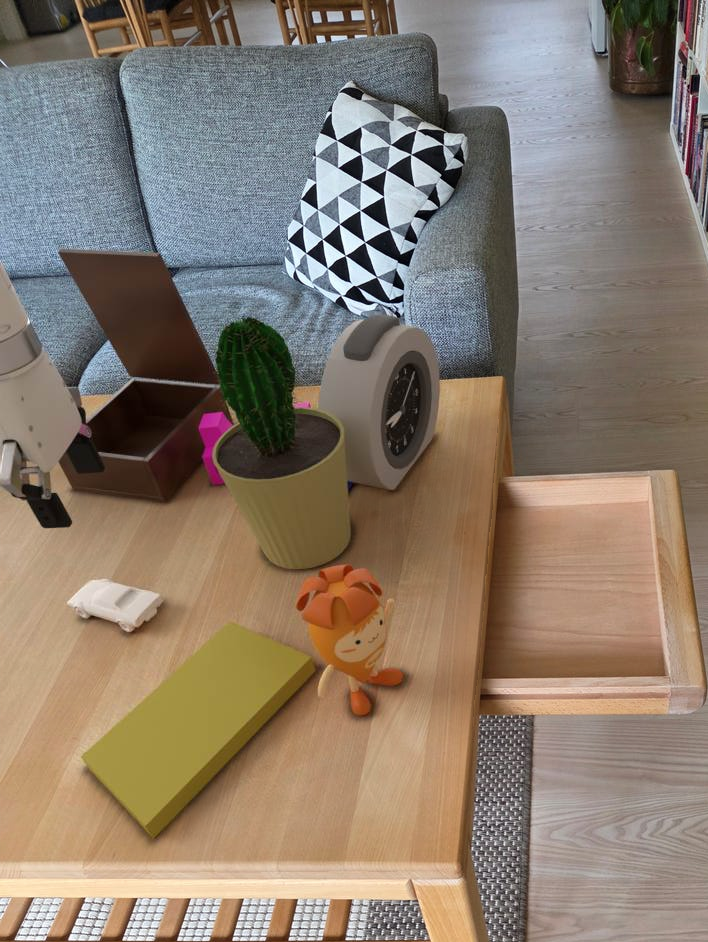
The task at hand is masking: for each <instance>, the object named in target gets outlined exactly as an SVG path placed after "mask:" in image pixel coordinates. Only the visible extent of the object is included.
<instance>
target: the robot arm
mask: <svg viewBox="0 0 708 942" xmlns="http://www.w3.org/2000/svg"><path fill="white" fill-rule="evenodd" d="M86 419H87V412H86V409H85V408H84V407H83V402H82V396H81V392H80V389H79V387H78V386H69V387H68V386H67V385H66V382H65V380H64V379H63V377H62V375H61V373H60V372H59V371H58V368H57V367H56V365H55V364H54V362H53V360H52V359H51V357H50V356H49V354H48V352H46V349H44V347H43V345H42V343H41V340H40V338H39V337H38V334H37V332H36V330H35V328H34V326H33V324H32V322H31V320H30V318H29V316H28V314H27V312H26V309H25V308H24V305H23V304H22V301H21V299H20V298H19V295H18V293H17V291H16V289H15V286H14V285H13V283H12V281H11V279H10V276H9V275H8V273H7V271H6V269H5V266H4V265H3V262H2V261H1V259H0V487H1V488H2V489H4V490H5V491H7V492H8V493H10V495H11V496H12V497H13V498H15V499H20V500H21V501H23V502H25V501H26V503H27V504H28V506H29V507H30V509H31V511H32V513H33V514H34V516H35V518H36V520H37V522H38V523H39V525H40V526H41V527H42V528H43V529H47V530H48V529H64V528H70V527H71V526H72V524H73V520H72V518H71V516H70V514H69V513H68V511H67V508H66V507H65V505H64V503H63V501H62V499H61V497H60V496H59V494H58V493H57V492H52V483H51V473H50V472H51V471H52V470H53V469H54V468H55V467H56V466H57V464H59V462H58V461H59V460H60V459H61V457H62V456H63V454H64V453H65V451H66V452H67V454H68V456H69V458H70V460H71V462H72V464H73V466H74V468H75V470H76V472H77V473H79V474H84V473H100V472H103V471H104V469H105V466H104V464H103V462H102V459H101V457H100V455H99V453H98V451H97V449H96V447H95V445H94V443H93V441H92V439H88V438H90V437H91V430H90V428H89V427H88V426H86ZM29 462H30V463H32V464H33V465H34V466H28V464H27V463H29ZM36 465H37V466H36ZM30 475H37V479H38V480H37V481H38V485H35V484H32V483H31V482H30V481H31V480H30Z"/></svg>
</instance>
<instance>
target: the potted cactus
mask: <svg viewBox="0 0 708 942" xmlns="http://www.w3.org/2000/svg"><path fill="white" fill-rule="evenodd" d="M231 314H232V316H233V317H234V320H233V321H231V322H230V321H229V320H228V317H227V316H225V317H226V321H227V322H224V325H225V326H224V325H222V323H219V325H220V326H222V327H223V329H222V330H221V329H218V327H215V330H216V331H218V333H219V335H218V338H216V337H213V339H214V340H216V341H218V343H215V342H214V341H211V340H209V343H211V344H214V345H215V346H217V349H216V348H213V346H210V345H209V344H207V346H208V347H210V348H211V349H213V350H214V351H215V352H214V351H211V350H210V349H208V351H209V352H208V351H207V353H208V355H209V356H212V357H214V358H213V359H212V360H213V361H214V360H215V363H213V365H214V367H215V368H216V372H217V375H218V378H219V380H218V381H219V382H220V384H219V385H218V386H220V387H221V388H219V389H221V390H222V391H221V390H219V389H218V390H219V391H221V393H222V392H223V395H222V396H223V399H224V400H225V401H226V403H227V405H225V406H228V409H229V410H230V409H231V411H232V412H230V415H233V413H234V415H235V418H234V419H233V418H232V421H233V420H237V421H238V422H237V423H235V424H234V426H232V427H231V428H229V429H228V430H227V431H226V432H225V433H224V434H223V435H222V436H221V437H220V438H219V439H218V441H217V442H216V444H215V446H214V448H213V454H212V458H213V462H214V464H215V466H216V467H217V469H218V471H219V474H220V475H221V477H222V479H223V480H224V482H225V483H224V484H225V486H226V487H227V489H228V491H229V493H230V495H231V496H232V498H233V500H234V502H235V504H236V506H237V507H238V509H239V512H241V514H242V516H243V518H244V521H246V523H247V525H248V527H249V529H250V530H251V532H252V534H253V535H254V538H255V539H256V541H257V543H258V545H259V547H260V548H261V551H262V552H263V553H264V555H265V556H266V558H267V560H269V561H270V562H271V563H272V564H274V565H275V566H278V567H280V568H283V569H287V570H307V569H311V568H312V569H313V568H316V567H319V566H322V565H325V564H327V563H329V562H331V561H332V560H334V559H335V558H337V557H339V556H340V555H341V554H342V553H343V552H344V551H345V550H346V548H347V547H348V545H349V543H350V541H351V535H352V530H351V528H352V527H351V514H350V503H349V502H350V500H349V490H348V486H347V472H346V458H345V442H344V427H343V425H342V423H341V422H340V421H339V420H338V418H337V417H335V416H334V415H332V414H330V413H328V412H326V411H323V410H320V409H318V408H314V407H311V408H310V407H294V405H295V404H298V403H300V400H299V398H298V399H297V395H298V393H297V392H293V391H295V388H296V389H297V388H298V386H301V384H300V383H301V382H300V381H296V374H297V373H296V372H297V371H296V369H300V368H301V367H302V366H304V365H303V364H302V365H299V366H294V365H293V363H295V360H294V361H293V359H295V358H297V357H299V354H297V355H295V356H292V355H291V352H292V353H293V351H292V350H290V349H289V346H288V345H287V344H286V342H285V341H286V339H287V338H289V337H290V336H291V334H289V335H286V334H287V331H284V332H283V334H282V335H283V336H282V335H281V334H280V333H281V331H280V332H278V331H279V330H281V329H279V328H277V327H276V329H275V328H274V323H275V322H276V320H277V318H276V319H275V320H274V321H273V322H272V323H271V325H268V324H269V321H270V319H271V316H270V318H269V319H268V321H267V322H266V323H265V320H263V321H262V319H263V317H260V310H259V313H258V315H254V317H252V316H253V315H250V316H247V317H245V314H244V313H243V315H242V316H241V318H240V320H238V319H236V316H235V315H234V313H233V312H231ZM260 318H262V319H260ZM264 318H266V315H265V317H264ZM259 319H260V320H259ZM286 329H288V326H287V328H286ZM216 372H214V374H215V373H216ZM212 374H213V373H212ZM217 375H216V376H217ZM216 376H215V378H216ZM214 386H217V384H214ZM216 388H217V387H216ZM217 392H218V391H217ZM298 400H299V401H298ZM296 401H297V402H296ZM220 402H221V401H220ZM226 403H225V404H226ZM222 406H224V404H223V405H222ZM225 406H224V407H225ZM220 407H221V406H220ZM222 408H223V407H222ZM226 409H227V408H226ZM226 409H225V410H226ZM225 410H224V411H225ZM224 411H223V412H224Z"/></svg>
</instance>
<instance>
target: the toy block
mask: <svg viewBox="0 0 708 942" xmlns="http://www.w3.org/2000/svg"><path fill="white" fill-rule="evenodd" d="M297 403H298V404H296V403H294V405H293V407H310V408H312V407H311V404H310V403H311V402H310V401H307V402H297ZM232 426H233V425H232V424H231V423H230V422H229V421H228V420H227V418H226V417H225V415H224V414H223V412H218V413H209V414H204V415H203V417H202V420H201V423H200V425H199V428H198V429H199V432H200V434H201V437H202V439H203V442H204V444H205V447H206V448H205V451H204V453H203V456H202V459H203V461H202V462H203V463H204V466H205V468H206V471H207V473H208V477H209V478H210V481H211V484H212V485H223V484H225V482H224V480H223V479H222V477H221V475H220V474H219V471H218V469H217V467H216V466H215V464H214V462H213V458H212V454H213V448H214V446H215V444H216V442H217V441H218V439H219V438H220V437H221V436H222V435H223V434H224V433H225V432H226V431H227V430H228V429H229V428H231V427H232Z"/></svg>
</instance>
